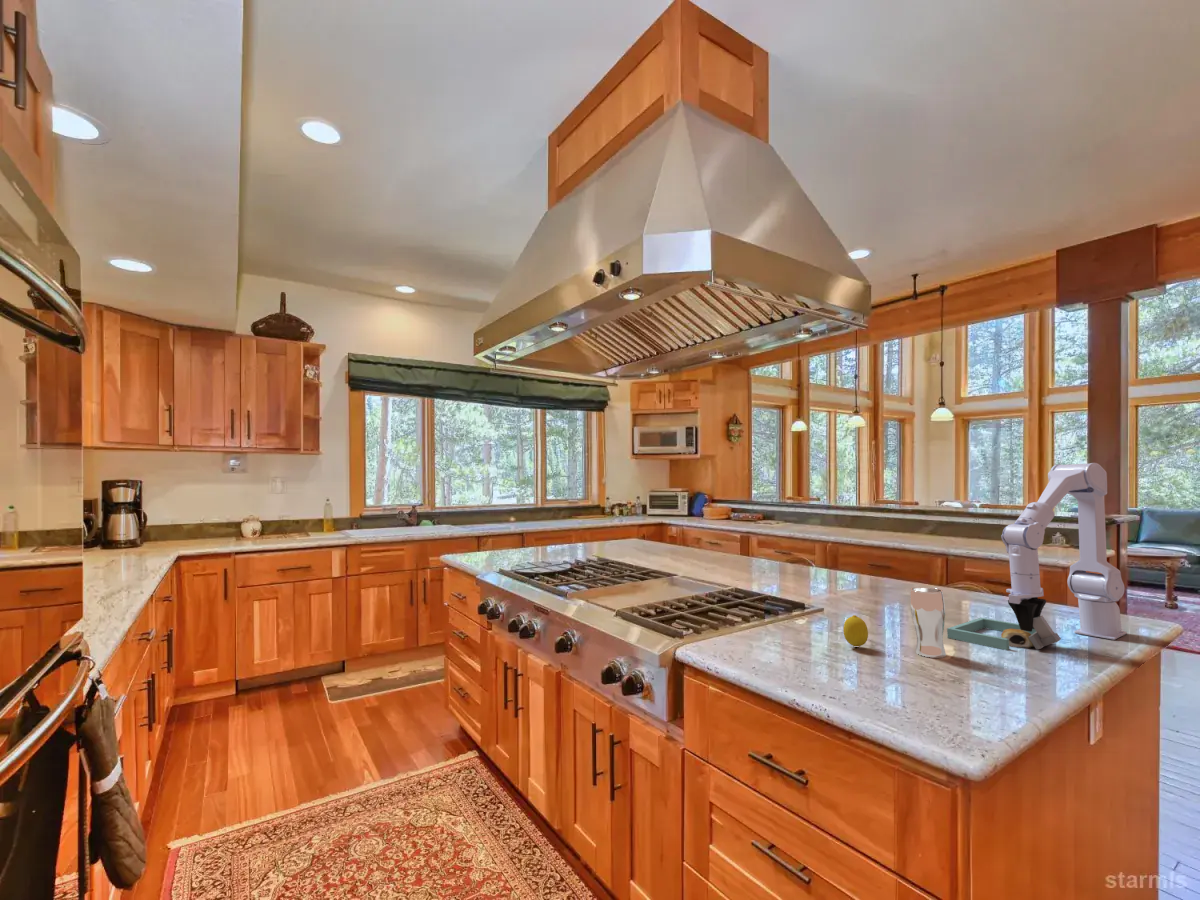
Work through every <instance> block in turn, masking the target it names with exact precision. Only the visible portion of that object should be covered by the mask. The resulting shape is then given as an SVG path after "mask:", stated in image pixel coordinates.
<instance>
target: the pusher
mask: <svg viewBox="0 0 1200 900" xmlns="http://www.w3.org/2000/svg"><path fill="white" fill-rule="evenodd" d="M1033 627H1034V629H1035V630H1036V632H1035V633H1033V634H1032V635H1030V636H1029V637H1028V638H1029V639H1030V641H1031V642H1032V644H1033V645H1034V646H1035V647H1034V648H1035V650H1041V649H1042V648H1043V647H1046V646H1049V645H1051V644H1055V643H1058V642H1059V641H1061V640H1062V638H1061V637H1060V635H1059V634H1058V632H1054V630H1053V628H1052V627H1051V626H1050V624H1049V623H1048V621H1047V620H1046V619H1045V617H1044V616H1043V615H1040V616H1039V617H1036V618H1033Z"/></svg>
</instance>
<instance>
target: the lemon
mask: <svg viewBox="0 0 1200 900" xmlns="http://www.w3.org/2000/svg"><path fill="white" fill-rule="evenodd" d="M842 631H843V636H844V639H845V641H846V642H847V643H848V644H849V645H851V646H853V647H854V646H859V647H861V646H863V645H865V644H866V642H867V641H868V638H869V631H868V627H867V623H866V622H865V620H864V619H862V618H861V617H858V616H857V615H856V614H853V615H852V616H850V617H848V618H846V620H845V621H844V623H843V629H842Z"/></svg>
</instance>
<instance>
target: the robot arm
mask: <svg viewBox="0 0 1200 900" xmlns="http://www.w3.org/2000/svg"><path fill="white" fill-rule="evenodd" d="M1050 468H1051V469H1050V470H1049V472H1048V473H1047V478H1048V483H1047V484H1046V487H1045V488H1044V490H1043V491H1042V493H1041V495H1040V496H1039V498H1038V500H1037V501H1033V502H1030V503H1028V504H1027V505H1026V507H1025V508H1024V510H1023V511H1022V512H1021V514H1020V515H1019V517H1018V518H1017V519H1016V520H1015V522H1014V523H1010V524H1008V525H1007V526H1005V527H1004V528H1003V530H1002V534H1001V535H1000V537H1001V541H1002V543H1003V544H1004V546H1005V552H1006V553H1007V554H1008V558H1009V572H1010V584H1011V585H1010V586H1011V588H1006V590H1005V591H1006V593H1008V600H1007V602H1008V603H1007V604H1008V605H1009V606H1010V608H1011V610H1012V611H1013V613H1014V615H1015V617H1016V620H1017V624H1019V626H1020V629H1021V630H1024V631H1030V632H1031V631H1032V629H1034V627H1033V618H1036V617H1039V616H1042V614H1041V613H1042V612H1043V609H1044V606H1046V604H1047V600H1046V599H1044V598H1040V597H1044V596H1045V595H1044V588H1043V587H1041V576H1040V575H1041V573H1040V563H1039V551H1038V549H1039V548H1040V547H1041V546H1042V545H1043V543H1044V537H1045V534H1046V531H1045V530H1046V528H1047V527H1048V526H1049V524H1050V523H1051V522H1052V520H1053V519H1054V517H1055V511H1054V510H1053V509H1054V508H1056V507H1057V505H1058V504H1059V503H1060V501H1062V500H1063V499H1064V498H1065V497H1066V496H1067V495H1069V496H1070V495H1071V496H1073V498H1075V499H1076V501H1077V514H1078V515H1077V518H1078V521H1077V522H1078V544H1079V549H1078V550H1079V560H1077V561H1076V562H1074V563H1073V564H1071V565H1070V566H1069V574H1068V577H1067V580H1066V581H1067V587H1068V589H1069V590H1070V592H1071V593H1072V594H1074V597H1075V598H1077V600H1078V611H1079V612H1078V613H1079V615H1078V616H1079V625H1080V628H1079V629H1076V630H1074V631H1073V632H1074V634H1078V635H1083V636H1090V637H1096V638H1102V639H1107V640H1117V639H1119V638H1121V637H1122V636H1123V637H1124V636H1125V635H1127V634H1128V633H1127V631H1125V630H1122V623H1121V622H1122V621H1121V609H1120V607H1119V605H1118V603H1117V602H1119V601H1120V599H1122V597H1123V596H1124V594H1125V584H1124V581H1123V579H1122V573H1121V570H1119V569H1118V568H1117V567H1115V566H1114V565H1113V564H1112V563H1110V562H1108V561H1107V559H1108V557H1107V533H1106V532H1107V531H1106V505H1105V496H1106V495H1107V494H1108V473H1107V471H1106V470H1105V469H1104V467H1103V466H1101V464H1099V463H1097V462H1091V463H1076V464H1075V463H1069V464H1060V463H1059V464H1055V465H1053V466H1052V467H1050Z"/></svg>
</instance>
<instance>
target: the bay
mask: <svg viewBox="0 0 1200 900" xmlns="http://www.w3.org/2000/svg"><path fill="white" fill-rule="evenodd" d="M982 628H983V629H987V628H988V629H987V630H992V629H993V630H994V631H999V632H1003V631H1004V630H1005V629H1020V626H1019V624H1018V623H1015V622H1009V621H1005V620H1003V621H1002V620H997V619H991V618H984V617H979V618H978V617H977V618H975V619H972V620H969V621H966V622H963V623H960V624H957V625H954V626H949V627H947V628H946V632H947V633H946V634H947V635H946V636H947V639H950V638H951V640H955V639H956V641H960V642H966V643H971V644H975V645H980V646H984V645H985V647H990V648H994V649H999V650H1004V651H1008V650H1010V646H1009V639H1006V638H1001V637H999V636H996V635H990V634H984V633H979V632H977V631H980V630H983V629H982ZM979 629H980V630H979ZM1020 630H1021V629H1020ZM1026 632H1029V633H1030V634H1031V635H1032V634H1033V633H1035V632H1036V630H1035V629H1032V631H1031V632H1030V631H1026Z"/></svg>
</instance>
